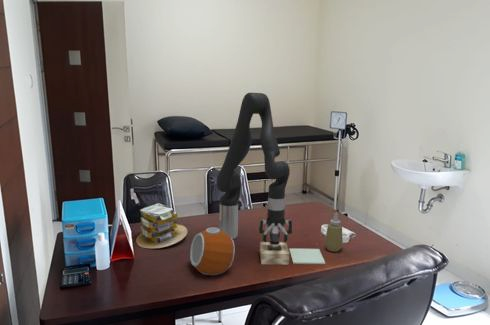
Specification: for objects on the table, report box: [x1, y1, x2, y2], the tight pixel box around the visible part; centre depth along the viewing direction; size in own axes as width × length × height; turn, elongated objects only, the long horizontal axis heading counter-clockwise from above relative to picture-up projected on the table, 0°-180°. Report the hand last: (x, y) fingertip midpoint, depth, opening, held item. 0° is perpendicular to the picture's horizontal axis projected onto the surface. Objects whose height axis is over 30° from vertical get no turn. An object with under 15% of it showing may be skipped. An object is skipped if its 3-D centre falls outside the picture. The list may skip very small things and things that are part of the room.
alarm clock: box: [189, 226, 236, 276], centre depth 165 cm, size 19×18×17 cm
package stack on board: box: [135, 202, 188, 249], centre depth 193 cm, size 25×25×17 cm
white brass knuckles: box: [320, 224, 357, 244], centre depth 203 cm, size 3×18×15 cm
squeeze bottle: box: [324, 212, 343, 253], centre depth 185 cm, size 8×8×18 cm
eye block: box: [259, 241, 290, 266], centre depth 176 cm, size 12×12×5 cm
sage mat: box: [288, 247, 326, 265], centre depth 179 cm, size 14×14×1 cm
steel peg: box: [269, 225, 281, 251], centre depth 175 cm, size 4×4×16 cm
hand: (275, 241), depth 175 cm, fingers open, 8 cm apart
